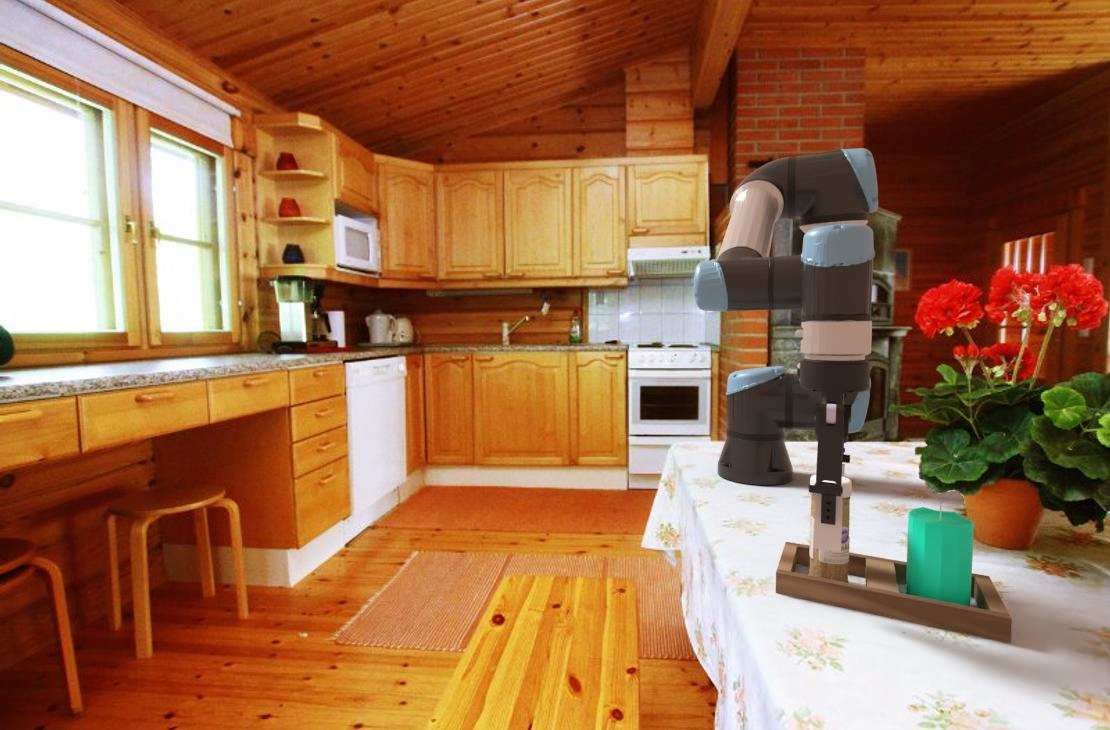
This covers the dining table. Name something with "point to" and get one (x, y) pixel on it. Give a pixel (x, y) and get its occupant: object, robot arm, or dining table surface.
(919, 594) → the candle
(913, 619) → the walnut rail
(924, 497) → the dining table surface
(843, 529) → the sprinkles bottle
